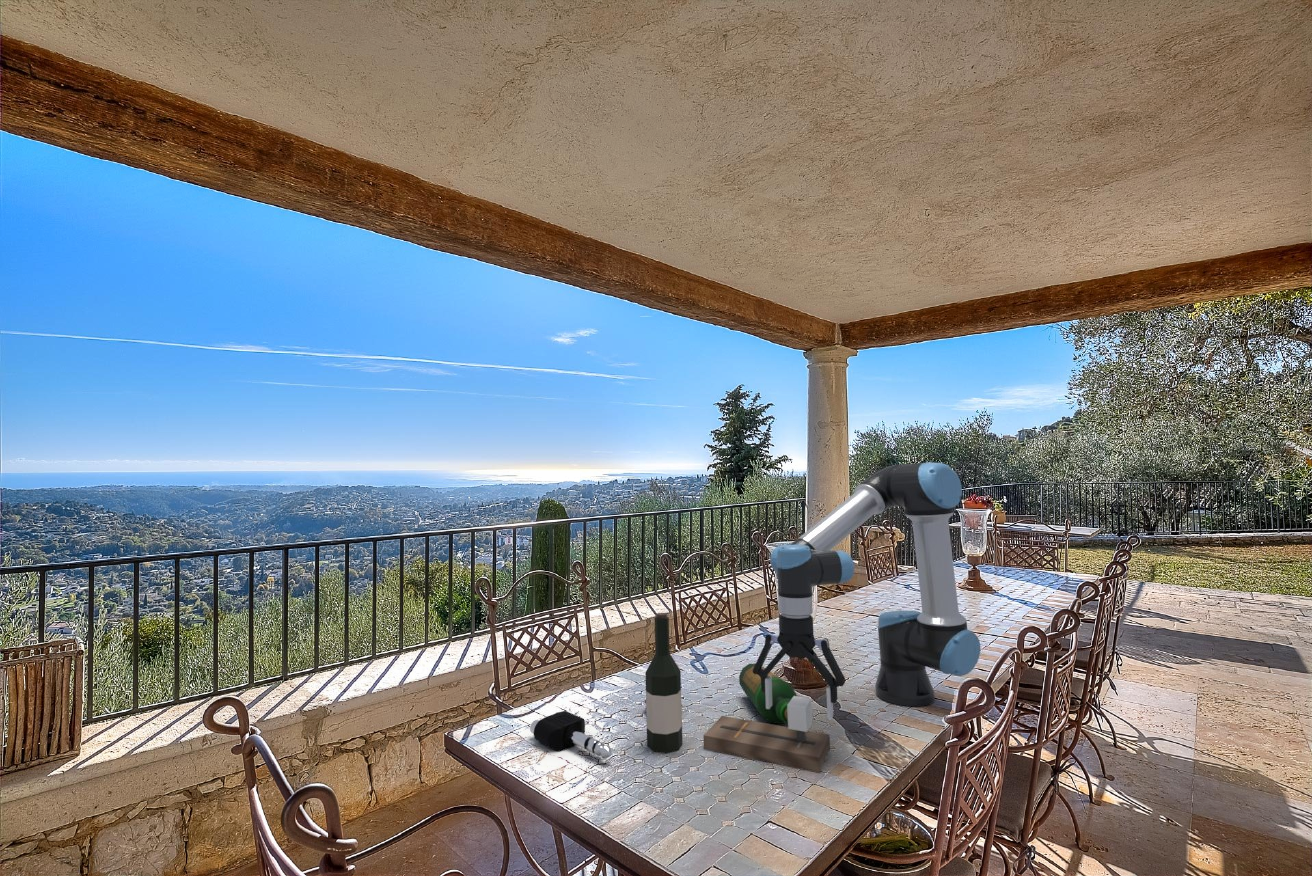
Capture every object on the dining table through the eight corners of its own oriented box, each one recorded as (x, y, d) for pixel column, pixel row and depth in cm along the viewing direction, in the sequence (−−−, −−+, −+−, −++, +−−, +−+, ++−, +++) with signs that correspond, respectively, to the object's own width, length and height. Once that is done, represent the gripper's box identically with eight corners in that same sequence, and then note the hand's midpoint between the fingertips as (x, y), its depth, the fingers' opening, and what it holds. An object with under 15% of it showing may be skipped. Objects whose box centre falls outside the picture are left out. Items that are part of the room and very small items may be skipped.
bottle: (773, 662, 163) (817, 696, 135) (766, 700, 161) (808, 742, 134) (739, 655, 161) (775, 688, 134) (731, 693, 160) (766, 734, 132)
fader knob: (813, 736, 127) (811, 698, 128) (807, 747, 122) (805, 707, 123) (795, 733, 129) (793, 695, 130) (788, 744, 124) (787, 705, 124)
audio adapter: (563, 704, 144) (629, 733, 127) (564, 726, 144) (630, 758, 126) (526, 718, 137) (591, 750, 119) (526, 741, 136) (591, 776, 119)
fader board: (830, 748, 128) (829, 734, 129) (819, 772, 118) (818, 757, 118) (722, 728, 140) (722, 715, 140) (703, 748, 129) (703, 734, 130)
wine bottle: (645, 738, 136) (643, 610, 138) (680, 736, 136) (676, 609, 139) (648, 754, 127) (645, 618, 130) (685, 752, 128) (681, 617, 131)
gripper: (855, 616, 125) (860, 715, 124) (747, 606, 137) (750, 697, 135) (850, 623, 119) (855, 728, 117) (737, 612, 130) (740, 708, 128)
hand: (799, 712), depth 126 cm, fingers open, 13 cm apart
